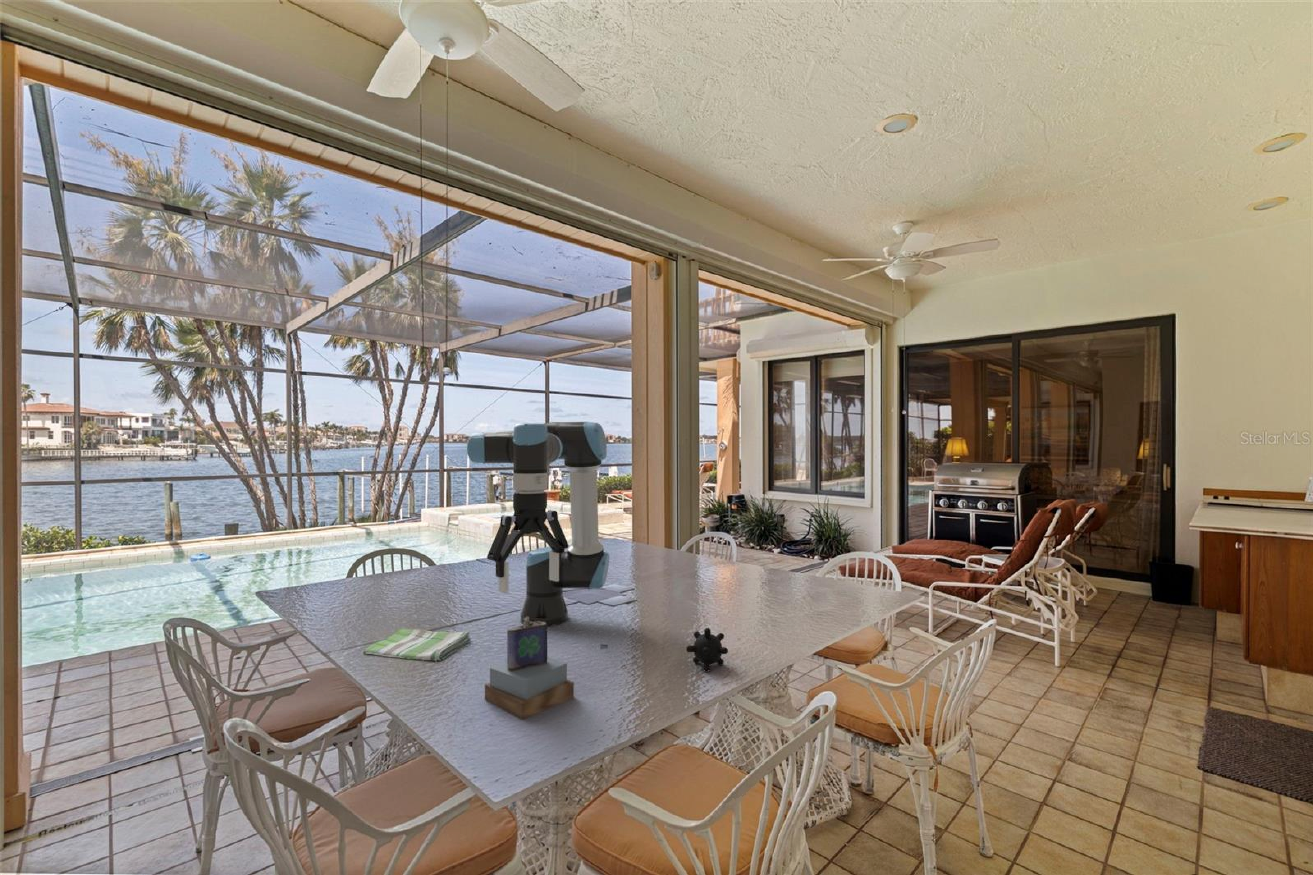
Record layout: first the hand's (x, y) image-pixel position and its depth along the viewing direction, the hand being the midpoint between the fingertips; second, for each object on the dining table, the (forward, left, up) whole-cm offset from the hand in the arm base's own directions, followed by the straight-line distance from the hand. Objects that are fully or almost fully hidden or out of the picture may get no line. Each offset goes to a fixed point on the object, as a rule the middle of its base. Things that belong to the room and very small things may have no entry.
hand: (529, 586), depth 127 cm
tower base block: (0, 0, -26) cm, 26 cm away
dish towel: (+2, -49, -26) cm, 56 cm away
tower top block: (0, 0, -22) cm, 22 cm away
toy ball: (-42, +18, -26) cm, 52 cm away
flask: (0, 0, -18) cm, 18 cm away
